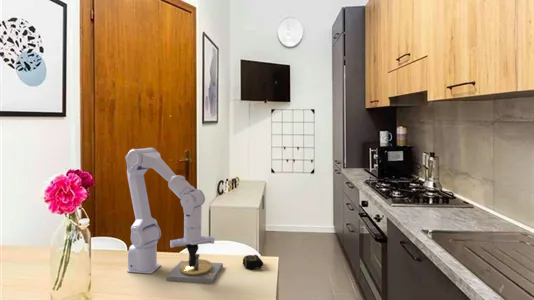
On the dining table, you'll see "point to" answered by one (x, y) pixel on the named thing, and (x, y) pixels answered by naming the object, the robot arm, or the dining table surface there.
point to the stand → (205, 278)
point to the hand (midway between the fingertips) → (192, 265)
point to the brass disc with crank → (196, 267)
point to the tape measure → (252, 262)
